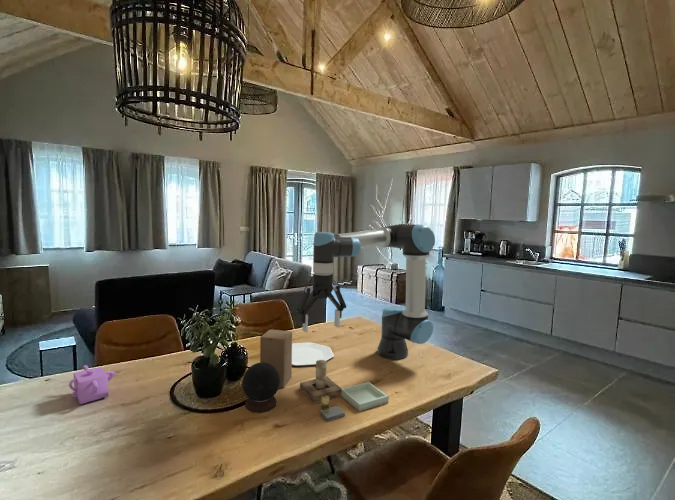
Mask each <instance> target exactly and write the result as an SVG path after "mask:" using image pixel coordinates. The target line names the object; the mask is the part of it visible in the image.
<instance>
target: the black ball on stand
mask: <svg viewBox="0 0 675 500" xmlns="http://www.w3.org/2000/svg"><path fill="white" fill-rule="evenodd" d="M241 384H242V385H241V386H242V389H243V393H244V394H245V396H246V397H247V399H246V400H245V402H244V408H245V409H246V410H247V411H248V412H250V413H257V414H261V413H268V412H270V411H273V410H274V409H275V408H276V407H277V405H278V399H277V398H276V397H275V395H276V394H277V392H279V391H278V390H279V389H280V388H279V385H280V376H279V373H278V371H277V370H276V368H275V367H274V366H272V365H271V364H269V363H264V362H261V363H260V362H257V363H255V364H253V365H251V366H250V367H248V369H246V371H245V373H244V374H243V377H242V382H241Z"/></svg>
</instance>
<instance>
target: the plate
mask: <svg viewBox="0 0 675 500" xmlns="http://www.w3.org/2000/svg"><path fill="white" fill-rule="evenodd" d="M334 357H335V355H334V353H333V351H332V349H331V347H330V346H327V345H324V344H323V345H322V344H319V343H316V342H311V341H310V342H309V341H308V342H292V367H293V366H294V367H303V366H304V367H305V366H316V361H318V360H325V361H326V362H327V361H329V360H331V359H332V358H334Z"/></svg>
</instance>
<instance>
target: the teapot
mask: <svg viewBox="0 0 675 500" xmlns="http://www.w3.org/2000/svg"><path fill="white" fill-rule="evenodd" d="M108 375H109V376H108ZM114 377H115V371H112V370H109V371H105V370H104V369H103V367H102V366H99V367H94V368H91V369H90V368H89V366H88V365H87V364H85V365H83V370H82V371H78V372H77V371H76V372H74V373H73V379H71V380H70V381H69V384H68V386H69V388H70V389H71V391H72V393H71V396H72V397H73V398H76V400H77V402H78V403H79V405H82V404H83V405H84V404H86V403H89V402H93V401H96V400H100V399H103V398H107V397H109V382H110V381H111V380H112V379H113V378H114ZM72 384H73V385H72Z"/></svg>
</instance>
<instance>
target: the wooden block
mask: <svg viewBox="0 0 675 500" xmlns="http://www.w3.org/2000/svg"><path fill="white" fill-rule="evenodd" d="M259 338H260V339H259V341H260V345H259V350H260V353H259V358H260V359H259V363H261V362H264V363H269V364H271V365H272V366H274V367H275V368H276V370H277V371H278V373H279V376H280V385H279V389H284V388H285V387H286V386H287V385H288V383H289V382H290V380H291V379H292V377H293V376H292V373H293V372H292V370H293V369H292V367H293V365H292V343H293V331H290V330H279V329H268V330H267V331H266V332H265V333H264V334H263V335H261V336H260V337H259Z"/></svg>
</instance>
